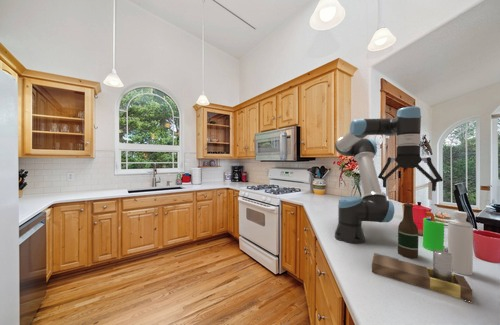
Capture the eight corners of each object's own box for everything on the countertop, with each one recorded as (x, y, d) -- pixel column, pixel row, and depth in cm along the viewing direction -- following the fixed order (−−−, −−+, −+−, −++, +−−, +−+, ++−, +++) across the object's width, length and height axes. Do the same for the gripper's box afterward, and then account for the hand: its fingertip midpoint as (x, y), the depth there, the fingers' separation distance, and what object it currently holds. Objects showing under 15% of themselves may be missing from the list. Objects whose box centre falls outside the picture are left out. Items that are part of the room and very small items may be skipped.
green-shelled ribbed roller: (450, 253, 91) (451, 215, 91) (430, 251, 93) (431, 214, 93) (436, 245, 100) (436, 211, 100) (418, 243, 102) (418, 210, 102)
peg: (434, 288, 65) (434, 253, 65) (431, 282, 69) (432, 248, 69) (453, 294, 63) (453, 257, 63) (449, 287, 66) (450, 252, 66)
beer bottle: (413, 261, 83) (414, 206, 83) (393, 253, 90) (394, 202, 90) (422, 257, 87) (422, 204, 87) (402, 250, 94) (402, 201, 94)
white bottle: (476, 277, 72) (477, 211, 72) (451, 272, 75) (452, 208, 75) (467, 268, 78) (468, 207, 78) (444, 264, 81) (445, 205, 81)
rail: (371, 273, 74) (372, 262, 74) (373, 263, 81) (373, 253, 81) (472, 303, 59) (472, 290, 59) (463, 287, 66) (463, 276, 66)
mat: (372, 261, 83) (372, 260, 83) (374, 253, 90) (374, 252, 90) (398, 268, 78) (399, 267, 78) (398, 259, 85) (398, 258, 85)
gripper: (371, 146, 83) (370, 194, 83) (454, 143, 68) (453, 202, 68) (372, 147, 89) (372, 192, 89) (449, 144, 74) (448, 199, 74)
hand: (407, 197), depth 79 cm, fingers open, 13 cm apart
